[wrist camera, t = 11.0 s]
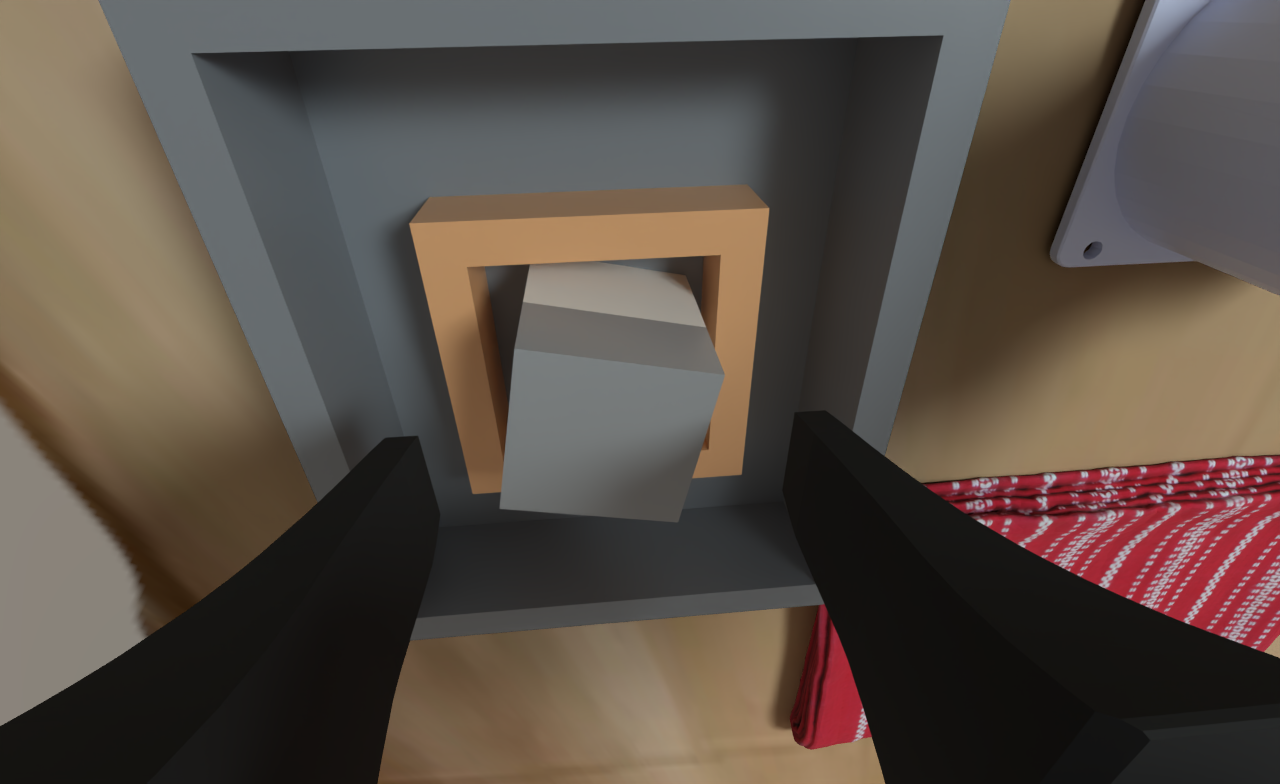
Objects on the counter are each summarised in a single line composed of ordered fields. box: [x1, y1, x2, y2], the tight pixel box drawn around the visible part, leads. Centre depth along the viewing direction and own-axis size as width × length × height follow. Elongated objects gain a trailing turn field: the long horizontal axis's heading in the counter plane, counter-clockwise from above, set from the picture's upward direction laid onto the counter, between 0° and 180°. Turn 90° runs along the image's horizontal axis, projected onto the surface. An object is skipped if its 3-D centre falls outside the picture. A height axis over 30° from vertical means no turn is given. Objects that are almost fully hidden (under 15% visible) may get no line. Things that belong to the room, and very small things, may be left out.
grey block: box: [500, 261, 725, 522], centre depth 14 cm, size 4×4×5 cm
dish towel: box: [790, 455, 1280, 750], centre depth 26 cm, size 17×24×3 cm
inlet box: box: [99, 0, 1010, 640], centre depth 15 cm, size 14×16×4 cm
